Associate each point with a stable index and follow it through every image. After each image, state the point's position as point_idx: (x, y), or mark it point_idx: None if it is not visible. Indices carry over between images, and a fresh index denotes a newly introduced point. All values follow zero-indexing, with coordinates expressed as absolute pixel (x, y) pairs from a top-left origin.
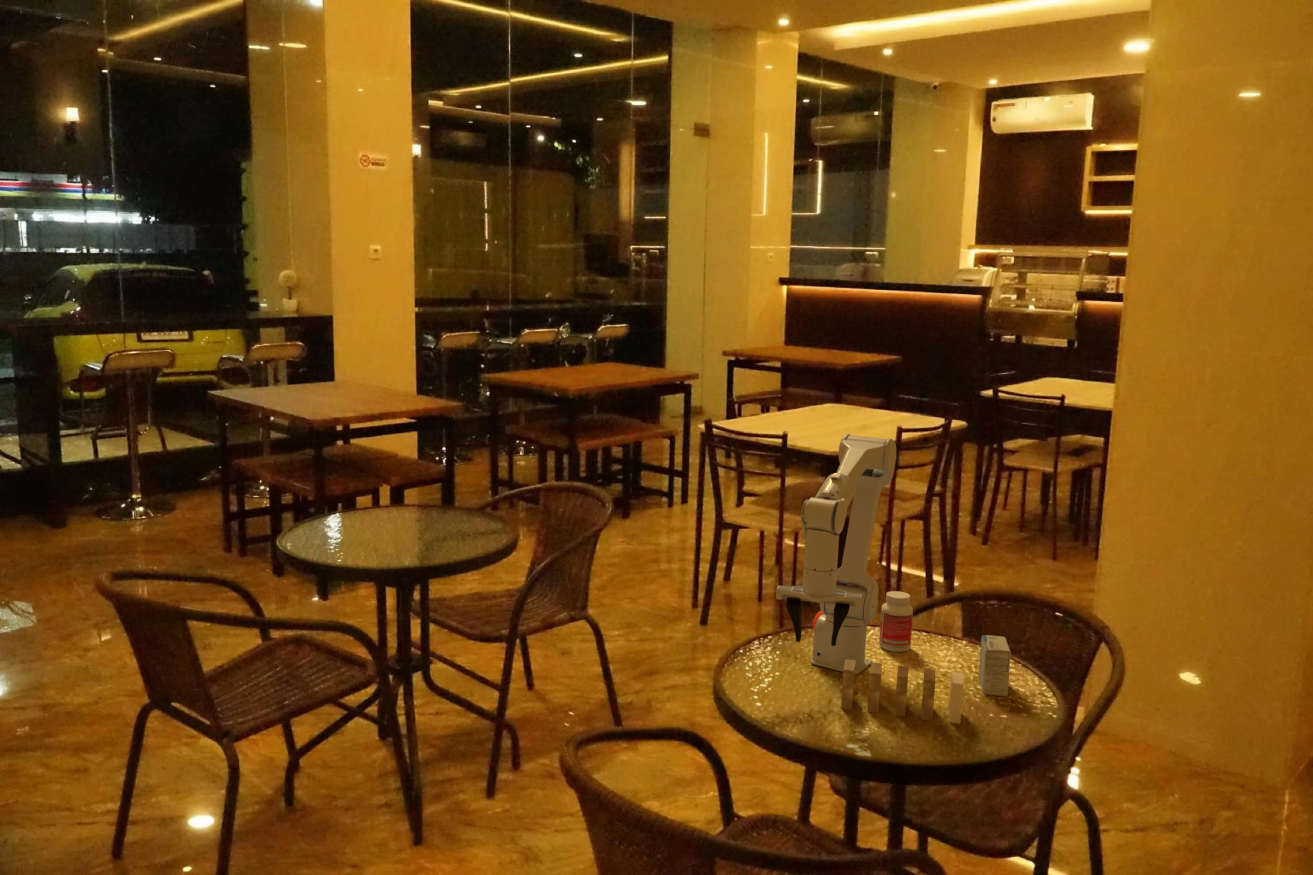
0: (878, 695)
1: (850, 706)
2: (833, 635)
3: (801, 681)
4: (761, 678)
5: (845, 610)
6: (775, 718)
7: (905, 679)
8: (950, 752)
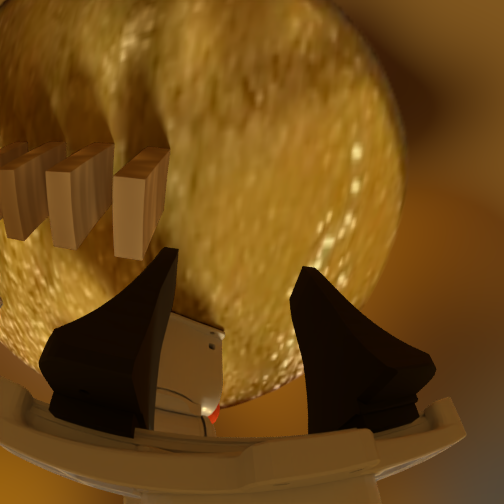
0: (77, 152)
1: (148, 148)
2: (163, 269)
3: (248, 267)
4: (325, 268)
5: (49, 362)
6: (332, 79)
7: (3, 167)
8: (9, 26)
